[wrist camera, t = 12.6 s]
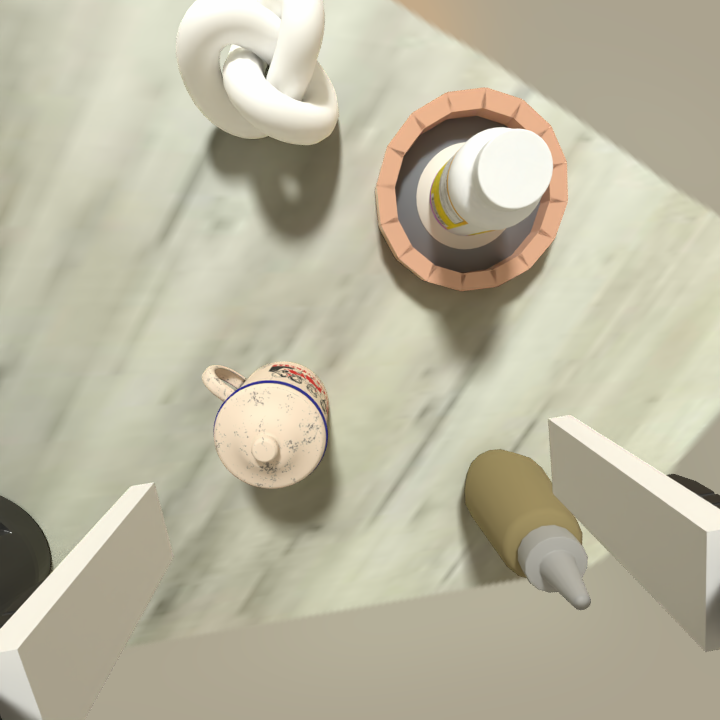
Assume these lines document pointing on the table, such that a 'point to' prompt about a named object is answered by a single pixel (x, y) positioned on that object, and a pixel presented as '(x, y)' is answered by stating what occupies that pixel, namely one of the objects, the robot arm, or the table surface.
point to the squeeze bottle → (528, 523)
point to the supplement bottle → (491, 181)
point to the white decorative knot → (259, 68)
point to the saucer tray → (417, 171)
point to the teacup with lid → (270, 423)
